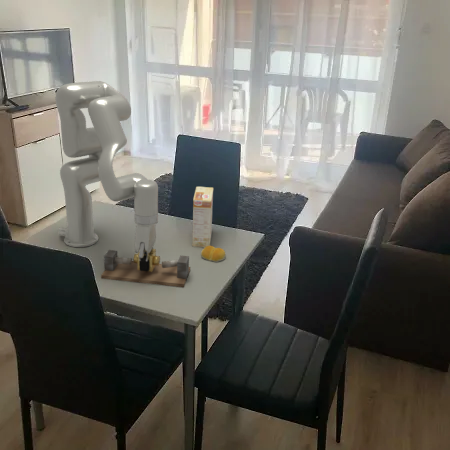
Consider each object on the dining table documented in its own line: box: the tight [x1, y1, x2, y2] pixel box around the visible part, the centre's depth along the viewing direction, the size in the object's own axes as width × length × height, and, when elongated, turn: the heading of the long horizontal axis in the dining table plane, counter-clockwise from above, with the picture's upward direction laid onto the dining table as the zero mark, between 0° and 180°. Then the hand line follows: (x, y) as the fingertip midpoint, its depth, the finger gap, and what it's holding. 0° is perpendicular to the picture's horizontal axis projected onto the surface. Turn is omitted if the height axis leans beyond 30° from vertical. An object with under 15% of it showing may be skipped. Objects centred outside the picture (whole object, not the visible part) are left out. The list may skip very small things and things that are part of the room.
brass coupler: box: [132, 248, 161, 272], centre depth 168 cm, size 8×5×6 cm, turn 83°
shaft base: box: [100, 249, 191, 288], centre depth 169 cm, size 28×12×7 cm, turn 83°
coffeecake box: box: [191, 186, 214, 248], centre depth 195 cm, size 15×7×20 cm, turn 178°
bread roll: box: [200, 245, 226, 263], centre depth 184 cm, size 8×9×4 cm
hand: (146, 266), depth 169 cm, fingers closed on brass coupler, 5 cm apart
